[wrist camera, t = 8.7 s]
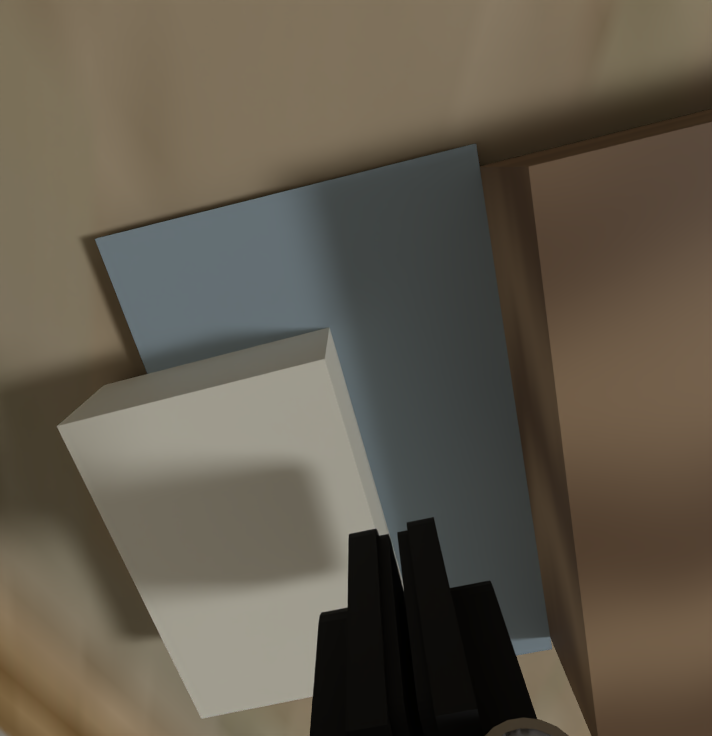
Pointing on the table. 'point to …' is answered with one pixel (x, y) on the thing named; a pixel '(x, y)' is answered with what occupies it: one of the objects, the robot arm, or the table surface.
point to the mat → (369, 342)
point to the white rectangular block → (233, 509)
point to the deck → (617, 409)
